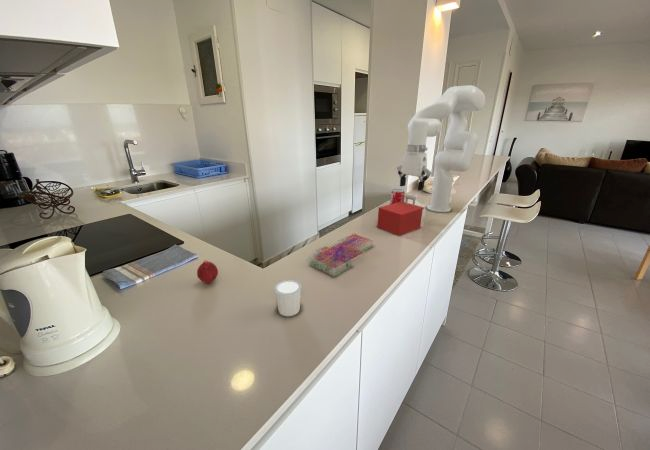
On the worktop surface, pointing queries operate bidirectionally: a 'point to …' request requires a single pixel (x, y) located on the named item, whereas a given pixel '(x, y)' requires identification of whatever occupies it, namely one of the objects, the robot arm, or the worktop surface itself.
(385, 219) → the red box
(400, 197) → the soda can
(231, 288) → the worktop surface
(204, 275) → the onion
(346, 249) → the confetti patterned tile
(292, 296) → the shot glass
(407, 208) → the lid
